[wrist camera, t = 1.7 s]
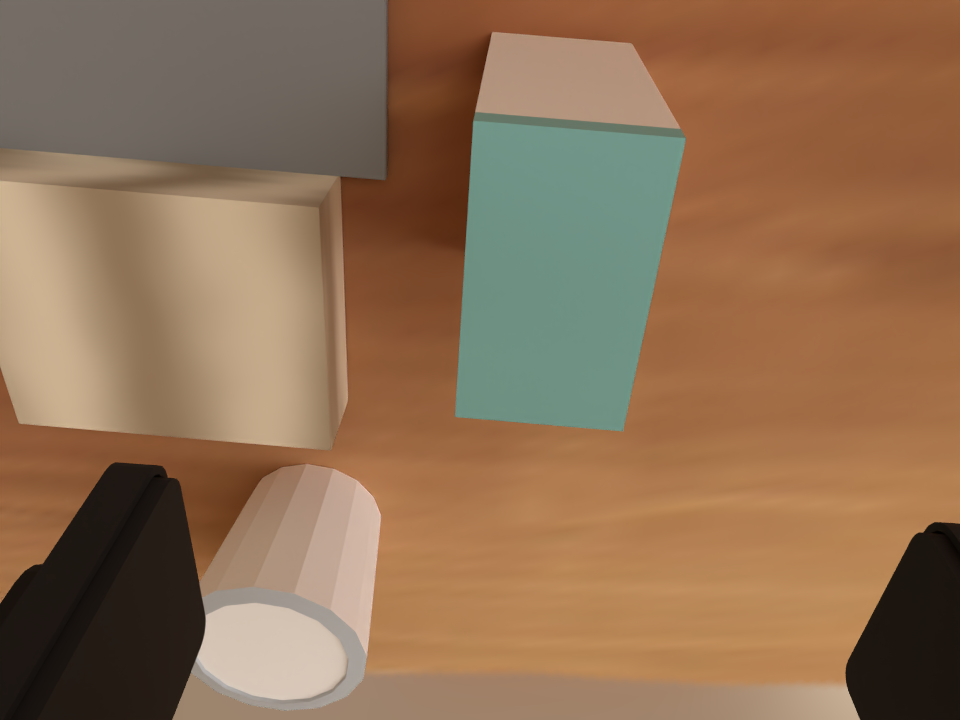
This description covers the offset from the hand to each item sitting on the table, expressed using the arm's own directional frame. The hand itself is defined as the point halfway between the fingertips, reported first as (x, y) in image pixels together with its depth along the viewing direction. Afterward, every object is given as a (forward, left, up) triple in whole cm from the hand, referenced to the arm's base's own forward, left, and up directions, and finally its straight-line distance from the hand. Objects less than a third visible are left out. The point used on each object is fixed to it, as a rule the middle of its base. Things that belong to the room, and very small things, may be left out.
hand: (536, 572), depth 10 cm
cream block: (0, 0, -17) cm, 17 cm away
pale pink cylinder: (+8, +16, -17) cm, 24 cm away
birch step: (+12, +5, -17) cm, 21 cm away
